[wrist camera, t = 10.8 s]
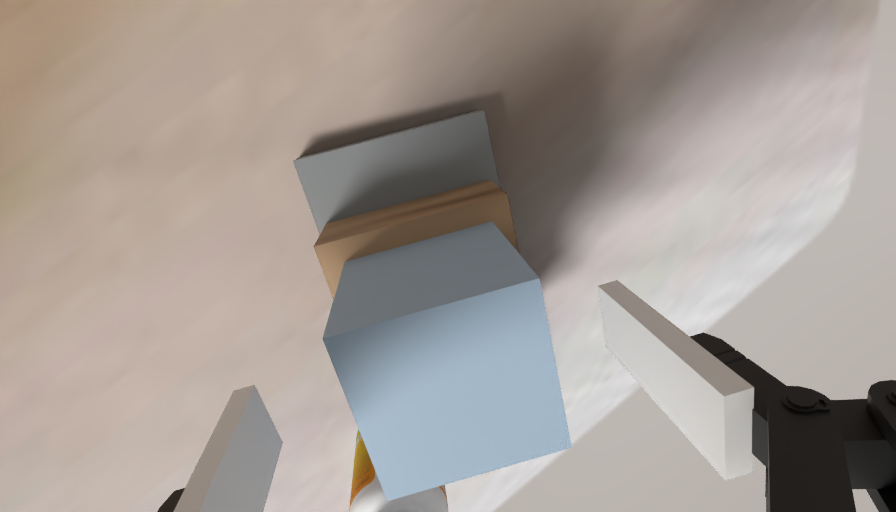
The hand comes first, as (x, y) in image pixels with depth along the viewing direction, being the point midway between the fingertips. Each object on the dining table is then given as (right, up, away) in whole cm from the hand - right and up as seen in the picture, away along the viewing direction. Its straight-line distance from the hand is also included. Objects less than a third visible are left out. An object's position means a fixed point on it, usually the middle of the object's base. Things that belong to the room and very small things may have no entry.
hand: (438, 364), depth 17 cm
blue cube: (0, +2, +5) cm, 5 cm away
